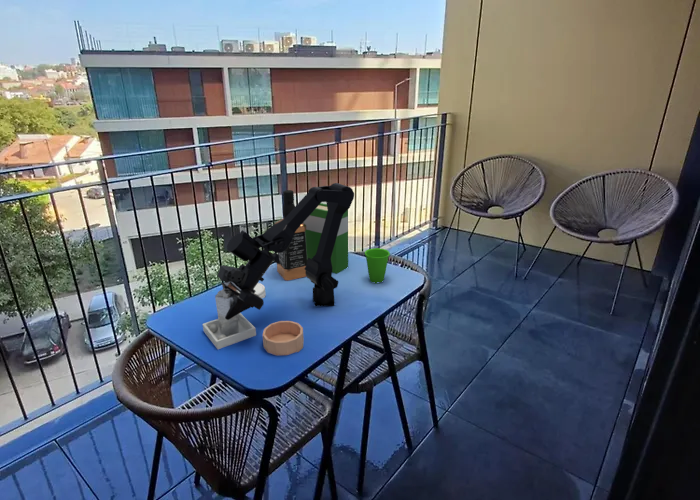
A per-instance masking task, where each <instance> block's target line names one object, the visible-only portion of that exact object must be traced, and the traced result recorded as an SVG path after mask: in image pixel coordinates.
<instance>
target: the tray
mask: <svg viewBox="0 0 700 500" xmlns="http://www.w3.org/2000/svg"><path fill="white" fill-rule="evenodd" d="M237 316H238V324H239V333H236V334H234V335H231V336H228V337H225V338H222V339H220V340H218V337H219V335H221V334H220V327H219V320H218V318H216V319H214V320H213V319H212V320H210V321H207V322H204V323H202V330H203V332H204V333H205V335H206V337H207V338H208V339H209V340H210V342H211V343H212V345H214V346H215V348H216V350H220V349H222V348H225V347H229V346H231V345H234V344H237V343H239V342H243V341H245V340H248V339H250V338H253V337H256V336H257V330H256V329H257V328H256V327H255V326H254V325H253V324H252V323H251V322H250V321H249V320H248V319H247V318H246V317H245V316H244V315H243V314H242V312H241V313H239V314H237ZM212 324H216V325H217V326H218V330H217V331H216V332H214V333H212V332H211V331H210V329H209V327H210V326H211V325H212Z"/></svg>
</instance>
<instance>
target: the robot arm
mask: <svg viewBox="0 0 700 500" xmlns="http://www.w3.org/2000/svg"><path fill="white" fill-rule="evenodd" d="M354 198H355V192H354V189H352V187H350V186H347V185H345V184H342V183H338V182H335V183H332V184H331V185H322V186H312V187H310V188H309V189H308V191H307V193H306V194H305V195H304V197H303V198H302V199H300V201H299V202H298V203H297V204H296V205H295V207H294V209H293V210H292V211H291V212H290V213H289V214H288V215H287V216H286V217H285V218H284V217H283V218H284V219H283V218H282V219H283V220H282V221H281V222H279V223H276V222H275V223H276V224H275V223H273V224H272V225H271V226H270V227H269V228H267V229H266V230H265V231H264V232H263V233H261V234H259V235H256V236H253V237H252V236H251V235H250V234H249V233H247V232H246V231H245V230H241V231H240V233H237V234H235V235H234V236H233V237H231V238H230V239H229V240H228V242H227V246H226V250H227V251H228V252H229V253H230V254H231V255H234V256H235V257H237V258H238V259H241V261H243V262H247V263H246V264H243V263H242V264H241V265H239V266H238V268H237V267H234V266H229V265H224V264H222V265H220V266H219V269H218V272H217V277H218V279H220V281H222V282H221V284H220V285H222V289H230V290H231V292H234V293H235V294H234V302H233V304H232V306H231V308H230V309H229V311H228V313H227V315H226V317H225V319H227V320H229V319H231V318H232V317H234V316H236V315H237V314H239V313H241V314H242V312H245V311H246V310H249V309H251V308H252V309H253V308H255V309H257V310H259V311H260V310H261V309H262V308H263V306H264V305H265V304H264V298H260V297H259V296H258V295H257V294H255V292H256V291H255V290H254V288H255V286H256V285H257V283H260V282H262V283H263V281H264V280H265V278H264V275H265V274H266V272H267V270H268V269H269V268H270V266H271V265H272V264H273V263H276V265H277V264H280V261H279V255H278V253H282V252H284V251H285V250H286V249H287V248H288V246H289V245H290V243H291V242H292V240H293V237H294V233H295V232H296V230H297V229H298V228H299V227H300V226H301V224H302V223H303V222H304V221H305V220H306V219H307V218H308V217H309V216H310V214H311V213H312V212H313V211H314V210H315V209H316V208H317V207H318V206H319V204H320V203H325V204H327V209H328V212H327V215H326V219H325V223H324V226H323V230H322V234H321V237H320V241H319V245H318V248H317V252H316V255H315V256H314V257H313V258H312V259H311V258H308V259H307V265H306V267H305V270H306V272H305V274H306V279H309V280H310V282H311V283H312V284H314V285H313V286H314V287H312V303H314V304H313V305H314V307H333V306H335V294H334V293H335V291H334V290H335V289H337V288H338V285H339V280H338V279H336V278H335V277H333V276H332V275H333V273H332V263H331V256H332V252H333V249H334V245H335V242H336V238H337V235H338V231H339V227H340V224H341V220H342V217H343V214H344V213H345V212H346V211H347V210H348V211H349V209H351V206H352V203H353V202H354ZM260 248H262V249H260ZM272 252H273V253H272ZM237 290H238V291H239V292H240V293H239V292H238V291H237ZM238 296H239V297H238Z"/></svg>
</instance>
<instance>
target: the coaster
mask: <svg viewBox="0 0 700 500" xmlns="http://www.w3.org/2000/svg"><path fill="white" fill-rule="evenodd" d="M254 290H255V291H256V292H255V294H257V295H258V296H259V297H260V298H262V299H265V298H266V287H265V285H264V284H262V283H260V282H258V283H257V285H256V286H255V288H254ZM237 291H238V290H237ZM238 292H239V291H238ZM239 293H240V292H239ZM238 297H239V296H238Z"/></svg>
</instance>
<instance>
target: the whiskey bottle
mask: <svg viewBox="0 0 700 500" xmlns="http://www.w3.org/2000/svg"><path fill="white" fill-rule="evenodd" d="M294 195H295V194H294V191H293V190H289V189H288V190H287V189H285V190H283V192H282V197H283V206H282V215H283V217H282V218H281V219H280V220H278V221H275V223H274V224H276V223H279V222H281V221H282V220H283V219H284V218H285V217H286V216H287V215H288V214H289V213H290V212H291V211H292V210H293V209H294V207H295V206H296V205H295V196H294ZM305 231H306V225H305V224H304V223H302V224H301V226H300V227H299V228H298V229H297V230H296V232H295V233H294V237H293V240H292V242H291V243H290V245H289V246H288V248H287V249H286V250H285V251H284V252H282V253H277V254H278V255H279V261H280V264H277V263H276V272H277V273H278V274H279V276H280V277H281V278H282V279H283V280H284V281H292V280H296V279H301V278H307V276H306V274H305V272H306V270H305V267H306V265H307V249H306V235H305Z"/></svg>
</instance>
